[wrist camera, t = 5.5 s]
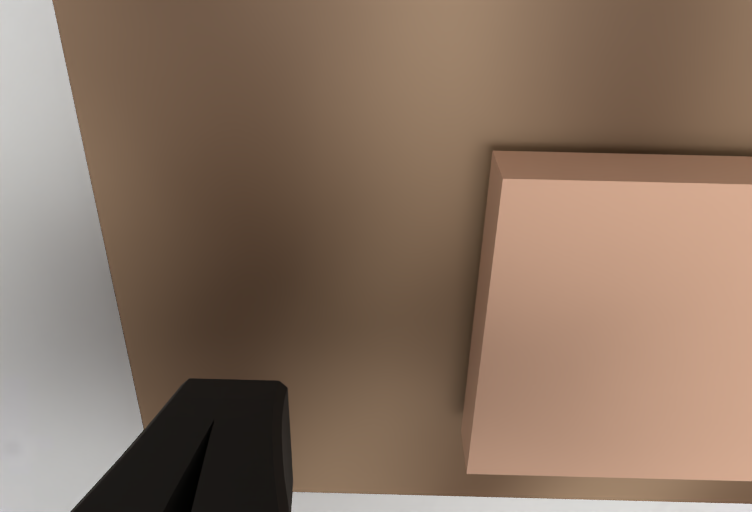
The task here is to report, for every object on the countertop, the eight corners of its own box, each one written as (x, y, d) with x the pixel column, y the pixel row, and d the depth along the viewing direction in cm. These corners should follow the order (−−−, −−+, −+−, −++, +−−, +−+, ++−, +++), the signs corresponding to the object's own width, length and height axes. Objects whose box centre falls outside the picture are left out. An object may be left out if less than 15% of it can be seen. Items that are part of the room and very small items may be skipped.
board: (171, 448, 16) (156, 487, 15) (78, -45, 11) (44, -36, 10) (830, 465, 16) (861, 506, 15) (1080, -23, 11) (1155, -12, 10)
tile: (466, 473, 13) (787, 482, 12) (502, 178, 10) (926, 188, 9) (459, 413, 14) (747, 421, 14) (488, 139, 11) (857, 147, 11)
